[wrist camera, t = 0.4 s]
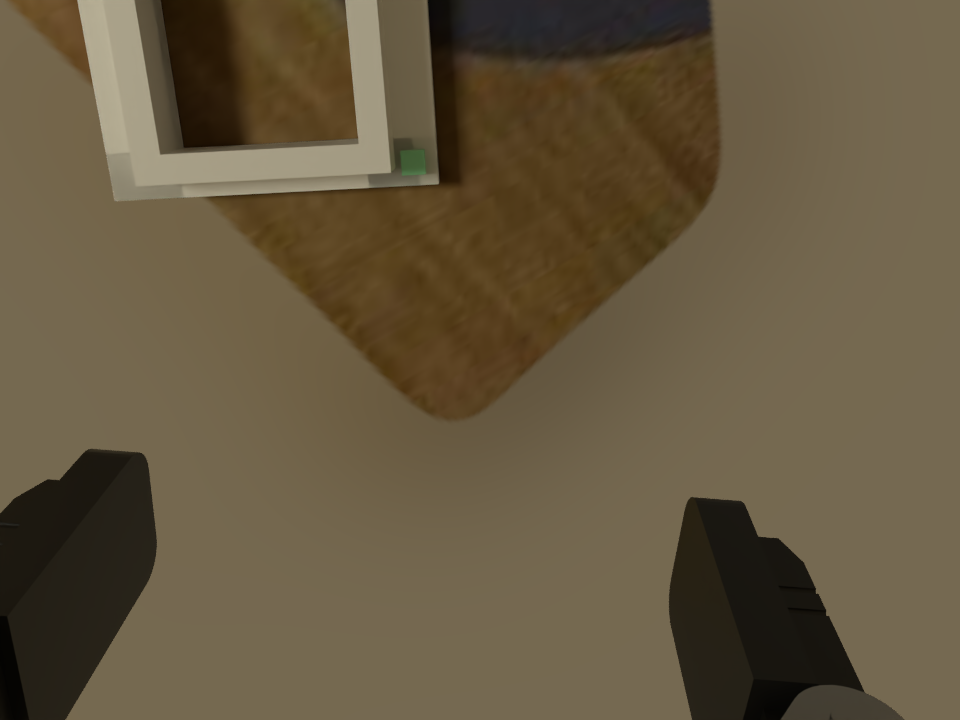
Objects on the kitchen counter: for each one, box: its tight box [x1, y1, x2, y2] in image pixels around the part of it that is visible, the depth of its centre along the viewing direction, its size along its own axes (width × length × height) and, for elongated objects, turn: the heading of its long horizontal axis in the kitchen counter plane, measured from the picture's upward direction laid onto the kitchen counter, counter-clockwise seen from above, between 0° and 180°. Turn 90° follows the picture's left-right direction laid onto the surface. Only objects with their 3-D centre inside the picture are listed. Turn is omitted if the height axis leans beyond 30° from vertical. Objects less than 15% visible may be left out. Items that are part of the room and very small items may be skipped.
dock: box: [77, 0, 440, 201], centre depth 35 cm, size 12×14×3 cm
